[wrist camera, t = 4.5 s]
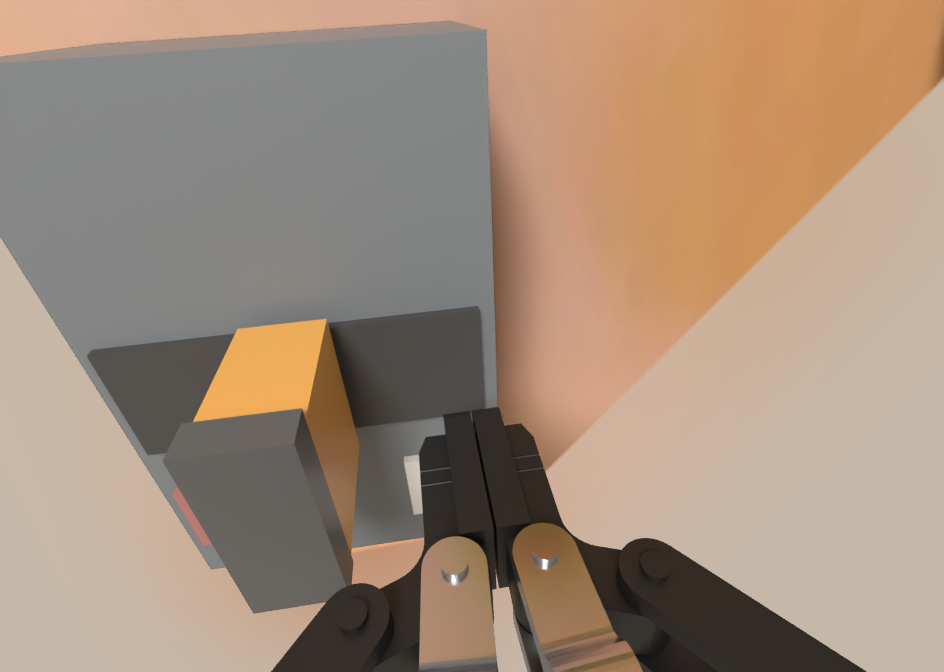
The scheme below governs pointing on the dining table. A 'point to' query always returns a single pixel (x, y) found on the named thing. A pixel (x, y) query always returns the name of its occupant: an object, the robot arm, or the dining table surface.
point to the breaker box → (264, 227)
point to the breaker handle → (274, 466)
